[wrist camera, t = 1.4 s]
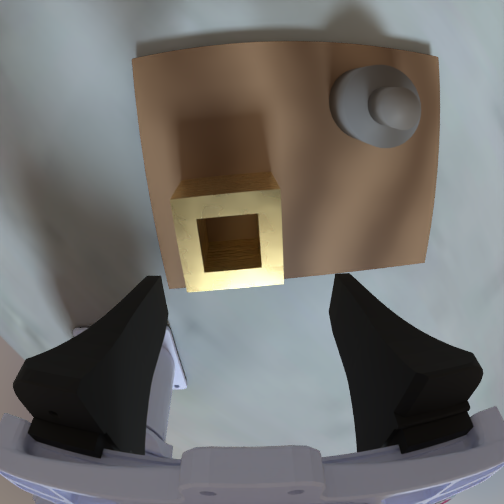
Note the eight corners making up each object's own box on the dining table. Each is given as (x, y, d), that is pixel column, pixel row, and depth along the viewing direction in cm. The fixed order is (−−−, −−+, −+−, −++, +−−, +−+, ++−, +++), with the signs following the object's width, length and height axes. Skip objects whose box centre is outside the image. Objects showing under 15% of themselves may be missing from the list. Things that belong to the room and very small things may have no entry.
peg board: (171, 281, 24) (157, 333, 18) (136, 60, 17) (101, 48, 11) (418, 256, 24) (456, 296, 19) (430, 57, 17) (484, 54, 12)
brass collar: (193, 259, 22) (187, 292, 18) (181, 180, 19) (169, 199, 16) (275, 252, 22) (283, 283, 19) (271, 171, 20) (280, 189, 16)
